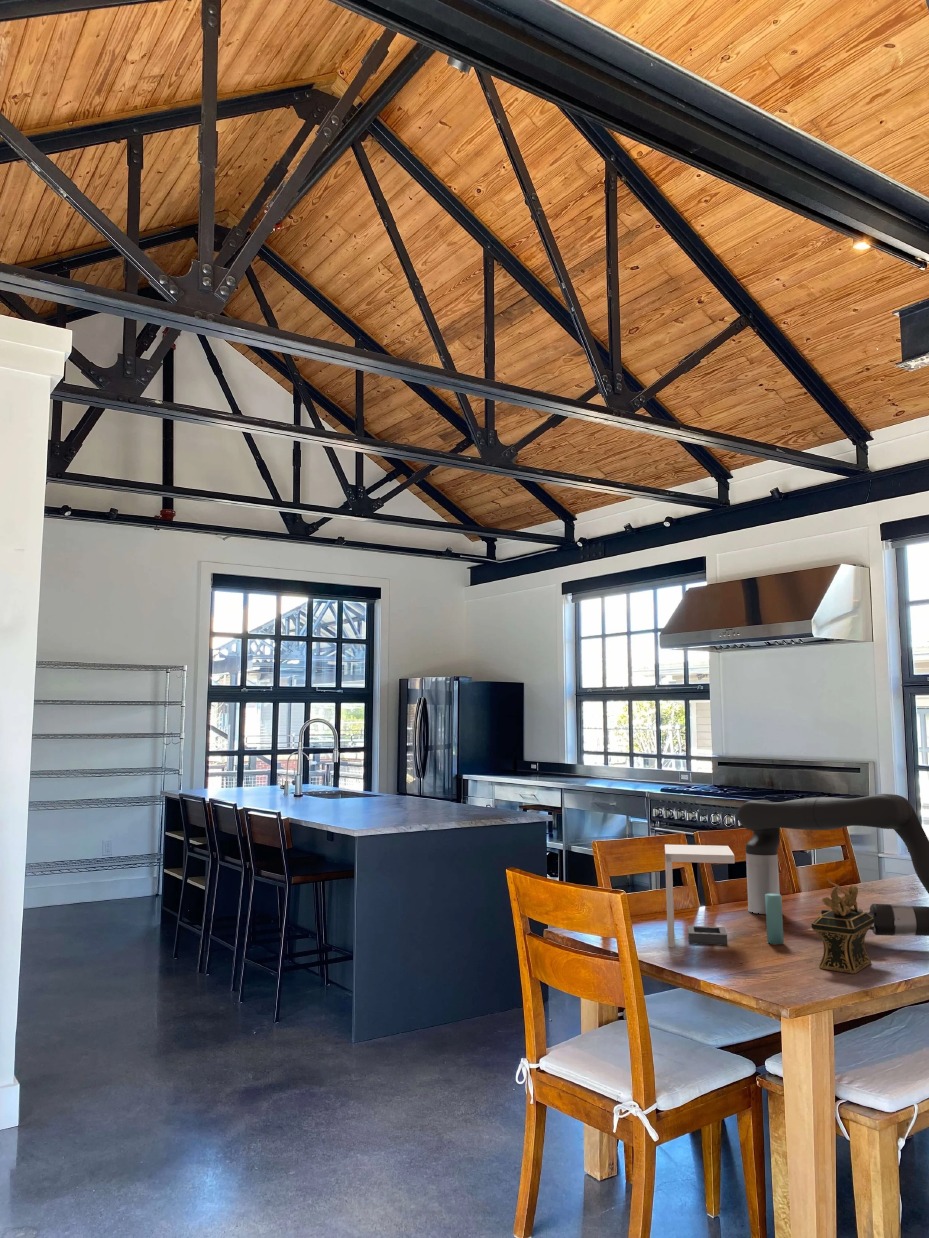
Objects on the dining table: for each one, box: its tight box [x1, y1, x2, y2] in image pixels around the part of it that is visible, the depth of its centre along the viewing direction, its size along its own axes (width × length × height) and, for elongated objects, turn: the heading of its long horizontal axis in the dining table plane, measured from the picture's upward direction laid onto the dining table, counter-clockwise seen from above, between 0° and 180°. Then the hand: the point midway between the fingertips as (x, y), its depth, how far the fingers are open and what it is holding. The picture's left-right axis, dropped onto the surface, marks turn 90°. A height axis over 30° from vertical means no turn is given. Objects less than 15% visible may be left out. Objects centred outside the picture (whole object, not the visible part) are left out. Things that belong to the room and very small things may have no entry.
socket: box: [687, 925, 728, 946], centre depth 230 cm, size 10×10×2 cm
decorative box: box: [810, 875, 874, 975], centre depth 204 cm, size 20×10×20 cm, turn 140°
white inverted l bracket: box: [664, 843, 736, 948], centre depth 232 cm, size 20×17×23 cm
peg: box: [765, 894, 785, 945], centre depth 227 cm, size 4×4×12 cm
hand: (824, 917), depth 225 cm, fingers open, 8 cm apart
